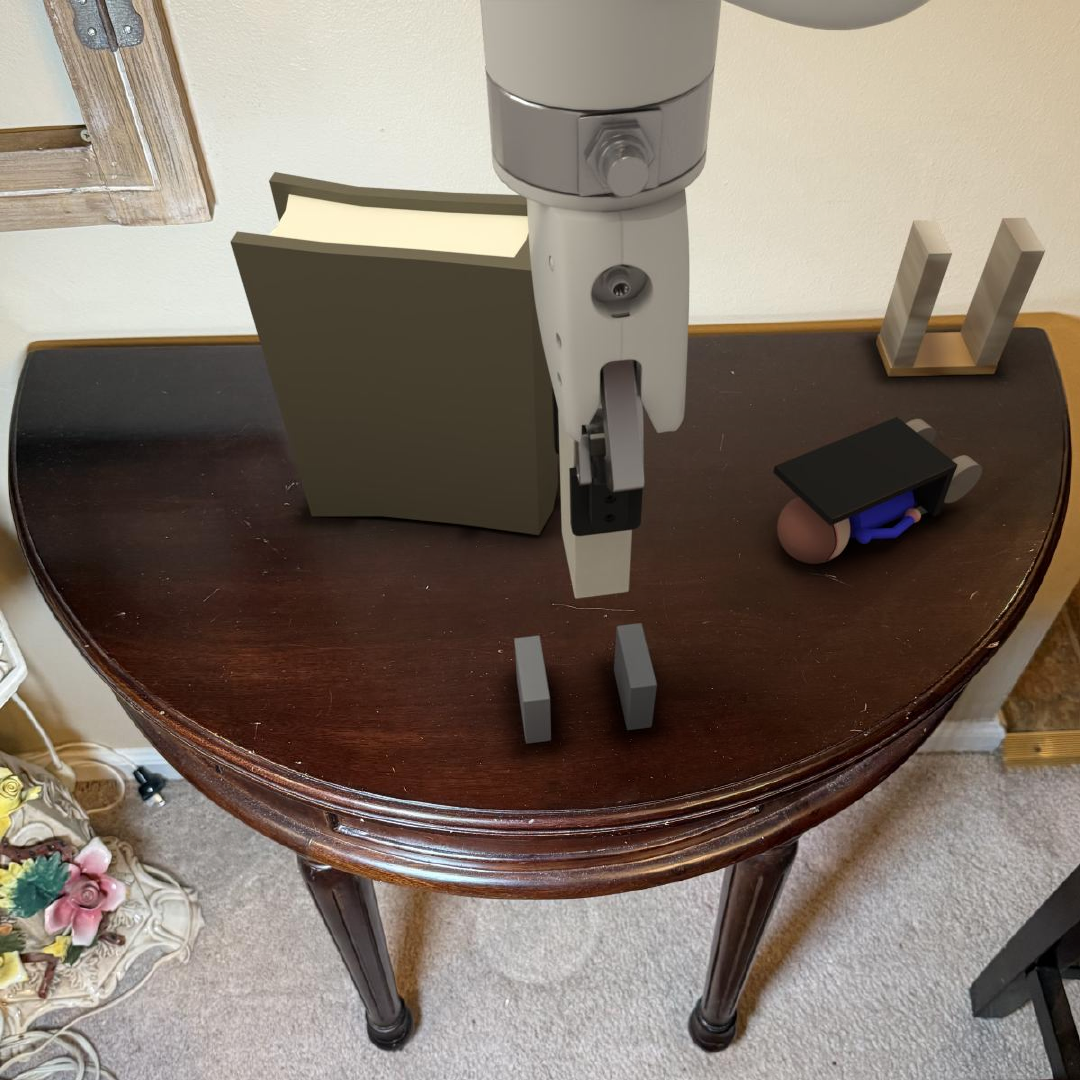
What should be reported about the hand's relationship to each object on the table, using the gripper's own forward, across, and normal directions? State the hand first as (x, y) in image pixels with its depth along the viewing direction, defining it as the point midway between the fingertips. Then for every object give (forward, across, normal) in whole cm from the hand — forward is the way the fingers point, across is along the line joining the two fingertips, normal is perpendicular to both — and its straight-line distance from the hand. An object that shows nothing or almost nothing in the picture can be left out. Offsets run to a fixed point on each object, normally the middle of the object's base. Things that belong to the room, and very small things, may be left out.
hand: (595, 484), depth 47 cm
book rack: (+21, +30, -35) cm, 50 cm away
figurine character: (+21, +13, -22) cm, 33 cm away
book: (+20, +21, +8) cm, 30 cm away
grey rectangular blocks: (+20, 0, +1) cm, 20 cm away
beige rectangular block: (+6, 0, 0) cm, 6 cm away
